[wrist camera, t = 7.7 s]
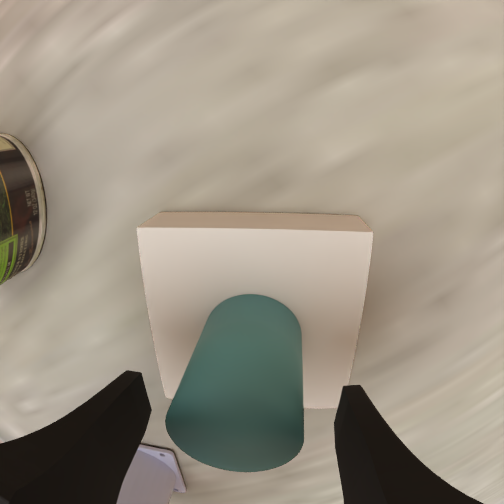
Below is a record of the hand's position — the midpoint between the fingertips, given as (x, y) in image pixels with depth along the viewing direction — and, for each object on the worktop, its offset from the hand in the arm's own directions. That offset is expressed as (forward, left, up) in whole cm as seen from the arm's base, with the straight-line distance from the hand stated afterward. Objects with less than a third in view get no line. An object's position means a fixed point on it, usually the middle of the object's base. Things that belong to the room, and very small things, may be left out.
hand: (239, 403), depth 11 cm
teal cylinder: (0, 0, -4) cm, 4 cm away
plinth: (0, 0, -8) cm, 8 cm away
